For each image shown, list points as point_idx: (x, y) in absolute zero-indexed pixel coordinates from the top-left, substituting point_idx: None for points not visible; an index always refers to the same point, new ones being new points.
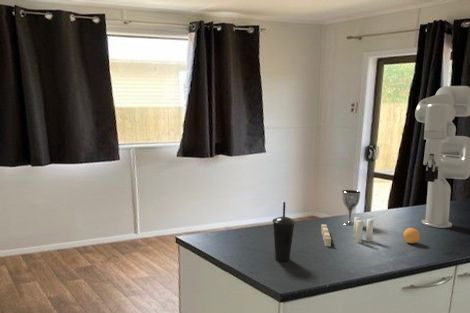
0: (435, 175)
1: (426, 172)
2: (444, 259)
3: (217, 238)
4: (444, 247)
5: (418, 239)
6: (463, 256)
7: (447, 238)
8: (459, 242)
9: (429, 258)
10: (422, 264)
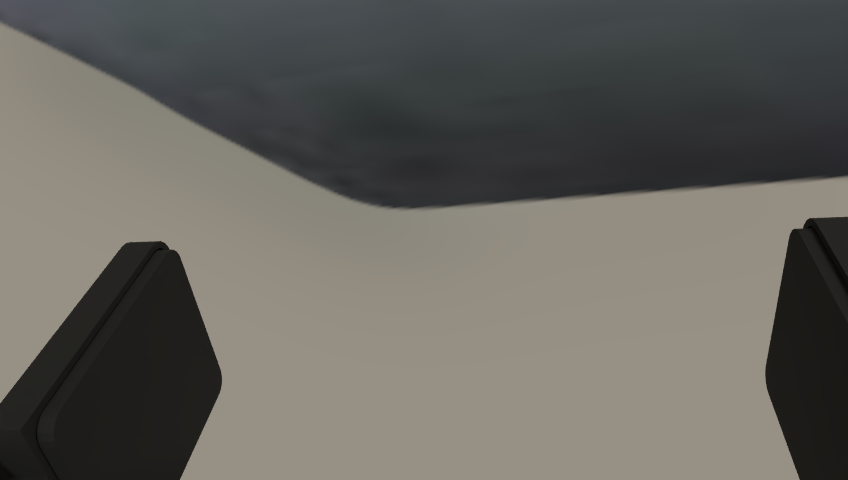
0: (794, 418)
1: (23, 405)
2: (223, 117)
3: None
4: (504, 76)
5: None
6: (378, 202)
7: (813, 54)
8: (727, 149)
9: (162, 35)
10: (12, 22)
